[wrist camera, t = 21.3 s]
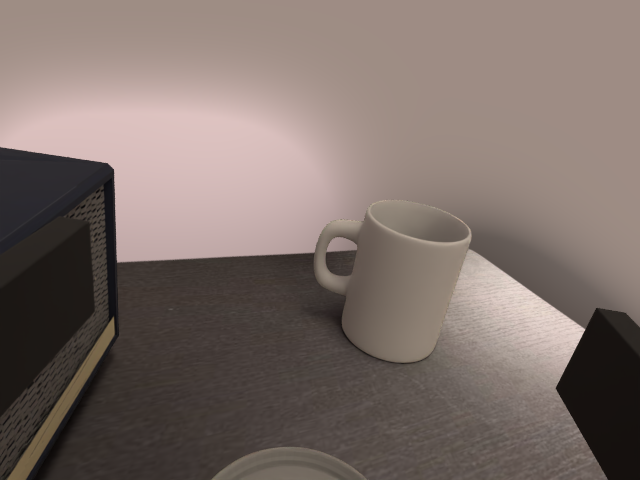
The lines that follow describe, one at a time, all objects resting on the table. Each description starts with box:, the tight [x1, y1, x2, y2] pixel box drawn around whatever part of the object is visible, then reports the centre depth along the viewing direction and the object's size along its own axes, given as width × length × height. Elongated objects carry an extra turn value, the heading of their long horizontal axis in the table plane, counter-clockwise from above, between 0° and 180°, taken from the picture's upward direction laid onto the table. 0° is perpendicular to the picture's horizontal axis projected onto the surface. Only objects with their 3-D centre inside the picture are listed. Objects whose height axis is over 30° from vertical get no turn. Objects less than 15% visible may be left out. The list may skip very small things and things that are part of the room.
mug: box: [314, 200, 471, 363], centre depth 38 cm, size 12×8×11 cm
